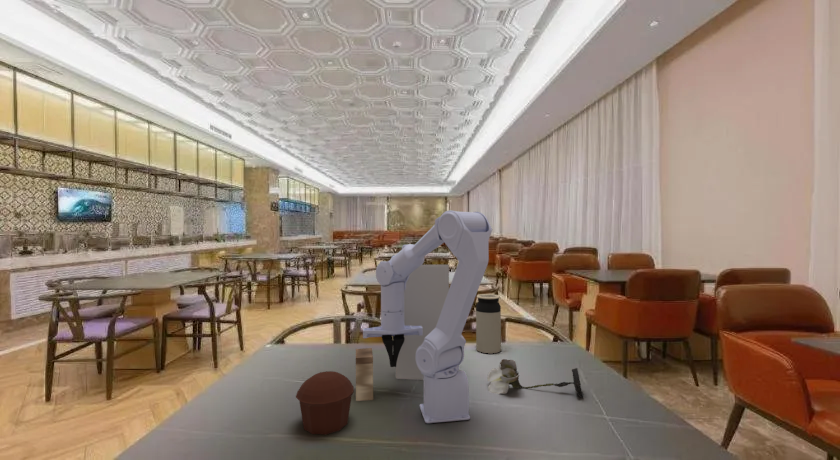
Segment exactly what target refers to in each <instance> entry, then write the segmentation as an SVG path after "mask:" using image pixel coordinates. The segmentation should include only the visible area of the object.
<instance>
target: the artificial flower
mask: <svg viewBox="0 0 840 460" xmlns="http://www.w3.org/2000/svg"><path fill="white" fill-rule="evenodd" d="M517 367H518V366H517V362H516V360H514V359H506V358H503V359H502V358H501V361H500V362H499V365H498V367H497V368H492V369H491V370H490V371H489V372H488V373H487V377H486V379H487V382H488V383H490V384H489V385H488V387H487V391H488V392H489V393H490V394H495V395H501V394H502V395H504V394H508V392H509V389H510V386H511V387H512V388H513V389H535V388H539V387H551V386H554V387H558V388H563V387H565V386H569V385H573V386H574V389H575V393H576V394H577V395H578V397H579V398H582V399H583V398H584V394H583V392H582V386H581V381H580V374H579V371H578V370H579V369H578V367H575V368H572V369H571V373H572V379H573V382H570V381H569V382H566V381H563V382H559V383H554V382H553V383H550V382H549V383H545V384H537V385H532V386H523V385H521V383H520V381H519V377H520V375H519V372H518V371H517V369H518V368H517ZM509 385H510V386H509Z"/></svg>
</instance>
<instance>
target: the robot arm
mask: <svg viewBox="0 0 840 460" xmlns="http://www.w3.org/2000/svg"><path fill="white" fill-rule="evenodd" d="M492 232H493V228H492V226H491V224H490V222H489V219H488V217H487V216H486V215H485V214H484V213H482V212H481V211H473V212H472V211H456V210H451V209H449V210H446V211H444V212H443V213H442V214H441V215H440V216H438V217H437V218H435V219H434V225H432V227H430V228H429V229H428V230H427V232H426V233H425V234H424V235H422V237H421V238H419V240H418V241H417V242H416V243H415V244H413V243H412V244H411V243H409V244H403V245H402V246H401V250H400V251H399V252H397V253H396V254H395V255H392V256H391V257H390V258H391V259H389V260H387V261H386V260H382V261H379V262H378V264H377V266H376V269H375V278H376V281H377V282H378V284H379V285H380V322H381V323H380V326H373V327H367V328H365V327H363V328H362V339H368V338H380V337H381V340H382V344H383V345H384V348H385V350H386V353H387V356H388V359H389V365H390V368H396V364H397V359H398V355H399V352H400V349H401V347H402V345H403V343H404V340H405V338H404V336H405V335H419V336H420V335H423V328H422V326H405V325H404V291H405V288H406V283H407V281H408V279H409V274H411V273H412V272H413V271H414V270H416V269H417V268H418V267H420V266H421V265H424V263H425V256H427V255H428V254H430V253H431V252H433V251H434V250H435V249H437V248H438V247H440V246H441V245H443V244H445V245H446V247H447V248H448V250H449V251H450V252H451V253H452V255H453V256H454V257H456V260H457V261H458V264H457V266H456V269H455V272H454V275H453V277H452V280H451V283H450V284H449V291H448V294H447V297H446V300H445V302H444V305H443V308H442V311H441V314H440V317H439V319H438V322H437V325H436V328H435V329H434V330H433V331H431V332H430V333H429V334H428V335H427V336H426V337H425V339H424V341H423V343H422V345H421V346H419V347H418V349H417V351H416V356H415V358H416V364H417V366H418V368H419V370H420V371H421V374H423V375H424V380H423V403H420V404H419V409H420V413H421V414H422V417H423V421H424V423H425V424H433V423H434V424H435V423H445V422H456V421H458V422H459V421H467V420H470V419H471V415H470V389H469V388H470V386H469V379H468V375H467V373H466V371H465V370H460V365H461V364H462V363H463V361H464V358H465V346H466V342H467V340H466V338H465V337H464V336H463V334H462V333H463V330H464V328H465V326H466V322H467V320H468V317H469V314H470V313H471V310H472V307H473V305H474V302H475V298H476V297H477V295H478V294H477V293H478V290H479V288H480V286H481V283H482V281H483V278H484V276H485V273H486V270H487V268H488V264H489V261H490V259H489V258H490V257H489V255H490V254H489V253H490V252H489V240H490V238H491V235H492Z"/></svg>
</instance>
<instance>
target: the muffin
mask: <svg viewBox="0 0 840 460" xmlns="http://www.w3.org/2000/svg"><path fill="white" fill-rule="evenodd" d="M354 389H355V388H354V385H353V384H352V382H351V380H349V378H348V377H346V376H345V375H344V374H342V373H340V372H337V371H333V370H331V371H330V370H329V371H320V372H318V373H315V374H313V375H312V376H311V377H309V378H307V379H306V380H305V381H304V382H303V383H302V384H301V385H300V387H299V389H298V390H297V392H296V395H295V399H297V400H298V401H299V409H300V414H301V420H302V425H303V430H304V431H306V432H308V433H310V434H312V435H329V434H332V433H336V432H340V431H341V430H342V429H344V427H345V426H347V425H348V422H349V417H350V409H351V402H352V397H353V394H354V391H355V390H354Z"/></svg>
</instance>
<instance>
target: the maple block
mask: <svg viewBox="0 0 840 460" xmlns="http://www.w3.org/2000/svg"><path fill="white" fill-rule="evenodd" d="M373 354H374V353H373V347H368V348H367V347H366V348H355V402H360V401H374V355H373Z"/></svg>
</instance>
